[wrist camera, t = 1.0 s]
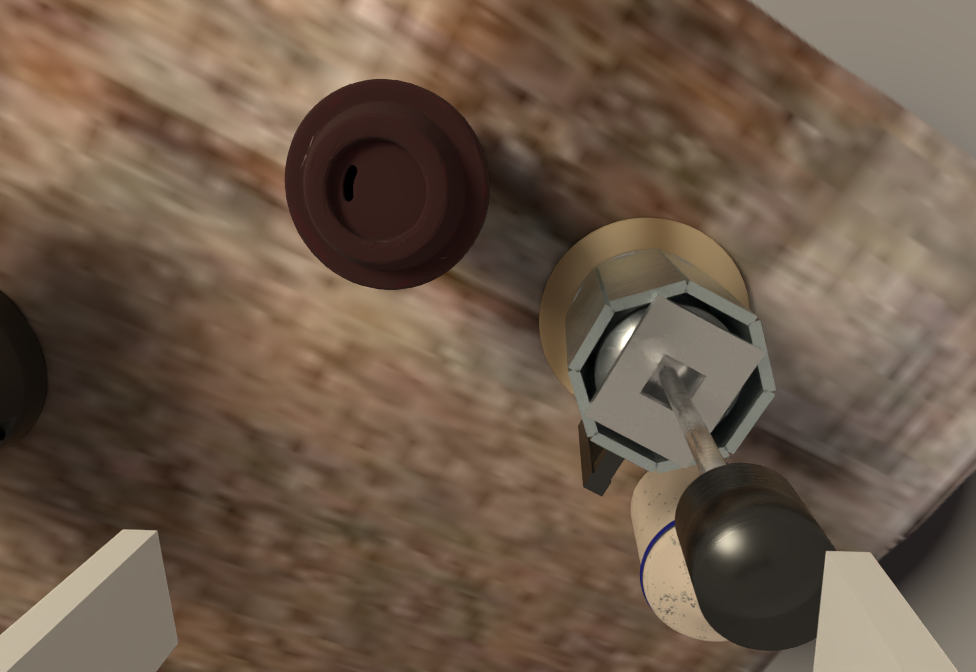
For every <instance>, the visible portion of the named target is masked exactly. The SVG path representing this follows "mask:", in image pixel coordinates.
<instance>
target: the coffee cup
mask: <svg viewBox="0 0 976 672" xmlns="http://www.w3.org/2000/svg"><path fill="white" fill-rule="evenodd" d="M285 190H286V199H287V203H288V207H289V211H290V214H291V217H292V220H293V222H294V225H295V227H296V229H297V231H298V233H299V235H300V236H301V238H302V239H303V241H304V243H305V244H306V245H307V247H308V248H309V249H310V251H311V252H312V253H313V254H314V255H315V256H316V257H317V258H318V259H319V260H320V261H321V262H322V263H323V264H324V265H325V266H326V267H328V268H329V269H330V270H332V271H333V272H334V273H336V274H338V275H339V276H341V277H343V278H345V279H347V280H349V281H351V282H353V283H356V284H359V285H362V286H366V287H371V288H376V289H384V290H398V289H406V288H412V287H416V286H420V285H423V284H425V283H428V282H430V281H432V280H434V279H436V278H438V277H440V276H441V275H443V274H444V273H446V272H447V271H449V270H450V269H451V268H452V267H454V266H455V265H456V264H457V263H458V262H459V261H460V260H461V259H462V258H463V256H464V255H465V254H466V253H467V252H468V250H469V249H470V248H471V246H472V245H473V243H474V242H475V240H476V238H477V237H478V235H479V233H480V231H481V229H482V226H483V223H484V221H485V218H486V214H487V210H488V204H489V197H490V181H489V171H488V166H487V161H486V158H485V155H484V151H483V149H482V147H481V144H480V142H479V140H478V138H477V136H476V134H475V132H474V131H473V129H472V128H471V126H470V125H469V124H468V122H467V121H466V120H465V118H464V117H463V116H462V115H461V114H460V113H459V112H458V111H457V110H456V109H455V108H454V107H453V106H452V105H451V104H449V103H448V102H447V101H445V100H444V99H443V98H441V97H440V96H438V95H436V94H435V93H433V92H431V91H429V90H427V89H424V88H422V87H419V86H417V85H414V84H411V83H407V82H403V81H399V80H390V79H372V80H365V81H361V82H357V83H353V84H349V85H347V86H344V87H342V88H340V89H338V90H336V91H334V92H333V93H331V94H330V95H328V96H327V97H325V98H324V99H322V100H321V101H320V102H319V103H318V104H316V105H315V106H314V107H313V108H312V110H311V111H310V112H309V113H308V114H307V115H306V117H305V118H304V119H303V121H302V122H301V124H300V125H299V127H298V129H297V131H296V133H295V135H294V137H293V140H292V142H291V146H290V149H289V152H288V156H287V161H286V167H285Z"/></svg>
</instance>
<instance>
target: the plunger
mask: <svg viewBox="0 0 976 672" xmlns="http://www.w3.org/2000/svg"><path fill="white" fill-rule="evenodd" d="M675 303H677V304H679V305H680V306H682V307H684V308H686V309H688V310H690V311H692V312H693V313H695V314H697V315H699V316H701V317H703V318H705V319H707V320H708V321H710V322H712V323H714V324H716V325H718V326H720V327H722V328H723V329H725V330H727V331H729V330H728V329H727V328H726V327H725V326H724V325H723V324H722V323H721V321H719V320H718V319H717V318H716V317H715V316H714V315H712V314H710V313H709V312H707V311H706V310H704V309H701V308H699V307H697V306H694V305H691V304H688V303H682V302H675ZM649 305H650V304H648V305H645V306H642V307H639V308H637V309H635V310H633V311H631V312H629V313H628V314H626V315H625V316H623V317H622V318H621V319H620V320H618V321H617V322H616V323H615V324H614V325H613V326H612V327H611V328H610V330H609V331H608V332H607V334H606V335H605V337H604V338H603V340H602V342H601V344H600V346H599V349H598V352H597V354H596V359H595V366H594V377H595V385H596V390H598V388H599V386H600V385H601V383H602V382H603V380H604V378H605V377H606V375H607V373H608V372H609V370H610V368H611V367H612V365H613V364H614V362H615V360H616V359H617V357H618V355H619V354H620V352H621V351H622V349H623V347H624V346H625V344H626V342H627V341H628V339H629V337H630V336H631V334H632V333H633V331H634V329H635V328H636V326H637V324H638V323H639V321H640V319H641V318H642V316H643V315H644V313H645V311H646V310H647V308H648V306H649ZM729 332H730V331H729ZM702 375H703V374H702V373H700V372H698V371H696V370H694V369H692V368H690V367H688V366H686V365H685V364H683V363H681V362H679V361H677V360H675V359H673V358H671V357H670V356H668V355H666V354H664V356H663V357H662V359H661V361H660V362H659V364H658V365H657V367H656V368H655V370H654V372H653V373H652V375H651V376H650V378H649V379H648V381H647V383H646V384H645V386H644V387H643V389H642V390H641V391H642V392H644V393H646V394H648V395H650V396H652V397H654V398H655V399H657V400H659V401H661V402H663V403H665V404H667V405H669V406H671V407H672V409H673V412H674V414H675V416H676V419H677V421H678V423H679V425H680V428H681V430H682V432H683V435H684V437H685V439H686V441H687V444H688V446H689V448H690V450H691V453H692V455H693V457H694V460H695V462H696V464H697V466H698V469H699V471H700V473H701V475H700V476H699V477H698V478H696V479H695V480H694V481H693V482H692V483H691V484H690V485H689V486H688V487H687V488H686V489H685V491H684V492H683V494H682V496H681V497H680V499H679V502H678V504H677V508H676V512H675V529H676V533H677V537H678V540H679V543H680V546H681V550H682V553H683V556H684V559H685V562H686V566H687V569H688V572H689V575H690V579H691V582H692V585H693V588H694V592H695V595H696V598H697V601H698V604H699V607H700V610H701V612H702V614H703V616H704V618H705V619H706V621H707V622H708V624H709V625H710V626H711V627H712V628H713V629H714V630H715V631H716V632H717V633H718V634H720V635H721V636H722V637H724V638H725V639H727V640H729V641H731V642H733V643H735V644H737V645H740V646H743V647H746V648H750V649H755V650H765V651H773V650H784V649H789V648H793V647H797V646H799V645H802V644H805V643H807V642H809V641H811V640H813V639H815V638H817V631H818V621H819V612H820V602H821V593H822V584H823V574H824V565H825V555H826V551H836V549H835V548H834V546H833V545H832V543H831V542H830V540H829V539H828V538H827V536H826V535H825V533H824V532H823V530H822V529H821V527H820V526H819V525H818V523H817V522H816V520H815V519H814V517H813V516H812V514H811V513H810V511H809V510H808V509H807V507H806V506H805V504H804V503H803V501H802V500H801V498H800V497H799V495H798V494H797V493H796V491H795V490H794V488H793V487H792V485H791V484H790V483H789V482H788V481H787V480H786V479H785V478H783V477H782V476H781V475H780V474H778V473H776V472H775V471H773V470H771V469H768V468H766V467H763V466H760V465H755V464H749V463H733V464H726V462H725V460H724V459H723V457H722V455H721V453H720V451H719V449H718V447H717V445H716V444H715V442H714V440H713V438H712V436H711V434H710V432H709V430H708V428H707V427H706V425H705V423H704V421H703V419H702V417H701V415H700V413H699V412H698V410H697V408H696V406H695V404H694V402H693V400H692V398H691V396H690V393H691V392H692V390H693V389H694V387H695V386H696V384H697V383H698V381H699V379H700V378H701V376H702ZM740 391H741V389H740ZM740 391H739V392H738V394H737V395H736V397H735V398H734V400H733V401H732V402H731V404H730V405H729V407H728V408H727V410H726V411H725V413H724V414H723V416H722V417H721V419H720V420H719V421H718V423H717V424H716V425H718V424H719V423H720V422H721V421H722V420H723V419H724V418H725V417H726V416H727V415H728V413H729V412H730V411H731V409H732V408H733V406H734V405H735V403H736V401H737V399H738V396H739V394H740Z"/></svg>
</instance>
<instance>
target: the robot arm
mask: <svg viewBox="0 0 976 672" xmlns="http://www.w3.org/2000/svg"><path fill="white" fill-rule="evenodd" d="M45 395H46V369H45V363H44V359H43V355H42V352H41V349H40V346H39V344H38V341H37V339H36V337H35V335H34V333H33V331H32V329H31V327H30V326H29V324H28V323H27V321H26V320H25V318H24V317H23V315H22V314H21V313H20V312H19V310H18V309H17V308H16V307H15V306H14V305H13V304H12V303H11V302H10V301H9V300H8V299H7V298H6V297H5V296H4V295H3V294H2V293H1V292H0V450H1V449H3V448H5V447H7V446H9V445H11V444H12V443H14V442H16V441H17V440H19V439H20V438H22V437H23V436H24V435H25V434H26V433H27V432H28V431H29V430H30V429H31V428H32V426H33V425H34V423H35V422H36V420H37V419H38V417H39V415H40V412H41V410H42V407H43V404H44V400H45ZM177 644H178V638H177V633H176V628H175V622H174V617H173V612H172V606H171V601H170V596H169V590H168V585H167V580H166V574H165V569H164V564H163V558H162V553H161V548H160V542H159V537H158V531H157V530H125V529H123V530H122V531H120V532H119V533H118V534H117V535H116V536H115V537H114V538H112V539H111V540H110V541H109V542H108V543H107V544H105V545H104V546H103V547H102V548H101V549H100V550H98V551H97V552H96V553H95V554H94V555H93V556H91V557H90V558H89V559H88V560H87V561H86V562H85V563H83V564H82V565H81V566H80V567H79V568H78V569H76V570H75V571H74V572H73V573H72V574H71V575H69V576H68V577H67V578H66V579H65V580H64V581H62V582H61V583H60V584H59V585H58V586H57V587H55V588H54V589H53V590H52V591H51V592H50V593H49V594H47V595H46V596H45V597H44V598H43V599H42V600H40V601H39V602H38V603H37V604H36V605H35V606H33V607H32V608H31V609H30V610H29V611H28V612H26V613H25V614H24V615H23V616H22V617H21V618H20V619H18V620H17V621H16V622H15V623H14V624H13V625H11V626H10V627H9V628H8V629H7V630H6V631H4V632H3V633H2V634H1V635H0V672H156V671H157V670H158V669H159V667H160V666H161V665H162V663H163V662H164V661H165V660H166V658H167V657H168V656H169V654H170V653H171V652H172V651H173V649H174V648H175V647H176V646H177ZM813 672H958V671H957V669H956V668H955V667H954V666H953V664H952V663H951V661H950V660H949V659H948V657H947V656H946V655H945V653H944V652H943V650H942V649H941V648H940V646H939V645H938V644H937V642H936V641H935V640H934V638H933V637H932V636H931V634H930V633H929V632H928V630H927V629H926V627H925V626H924V625H923V624H922V622H921V621H920V619H919V618H918V616H917V615H916V614H915V612H914V611H913V610H912V608H911V607H910V606H909V604H908V603H907V602H906V600H905V599H904V597H903V596H902V595H901V593H900V592H899V591H898V589H897V588H896V587H895V585H894V584H893V583H892V581H891V580H890V578H889V577H888V576H887V574H886V573H885V572H884V570H883V569H882V568H881V566H880V565H879V564H878V562H877V561H876V559H875V558H874V557H873V555H872V554H871V553H870V552H844V551H826V555H825V565H824V574H823V584H822V593H821V602H820V612H819V621H818V631H817V640H816V650H815V660H814V668H813Z"/></svg>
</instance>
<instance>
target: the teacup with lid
mask: <svg viewBox="0 0 976 672" xmlns="http://www.w3.org/2000/svg"><path fill="white" fill-rule="evenodd" d="M700 475H701V473H700V471H699V469H698V466H697V465H692V466H688V467H687V468H680V469H675V470H671V471H667V472H663V473H659V474H657V470H655V471H654V473H652V472H650V471H648V472H647V473H646V474H645V475H644V476H643V477H642V478H641V480H640V481H639V483H638V484H637V486H636V488H635V490H634V493H633V496H632V500H631V518H632V523H633V528H634V533H635V538H636V543H637V548H638V553H639V558H640V563H641V567H640V582H641V587H642V591H643V594H644V597H645V599H646V601H647V603H648V604H649V606H650V608H651V609H652V610H653V611H654V613H655V614H656V615H657V616H658V617H659V618H660V619H661V620H662V621H663V622H664V623H665V624H666V625H668V626H669V627H671V628H672V629H674V630H675V631H677V632H679V633H681V634H683V635H685V636H688V637H691V638H694V639H698V640H703V641H713V642H721V641H729V640H727V639H725V638H724V637H722V636H721V635H720V634H718V633H717V632H716V631H715V630H714V629H713V628H712V627H711V626H710V625H709V624H708V622H707V621H706V619H705V618H704V616H703V614H702V612H701V610H700V607H699V604H698V601H697V598H696V595H695V592H694V588H693V585H692V582H691V579H690V575H689V572H688V569H687V566H686V562H685V559H684V556H683V553H682V550H681V546H680V543H679V540H678V537H677V533H676V529H675V512H676V508H677V504H678V502H679V499H680V497H681V496H682V494H683V492H684V491H685V489H686V488H687V487H688V486H689V485H690V484H691V483H692V482H693V481H694V480H695V479H696V478H698V477H699V476H700Z"/></svg>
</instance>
